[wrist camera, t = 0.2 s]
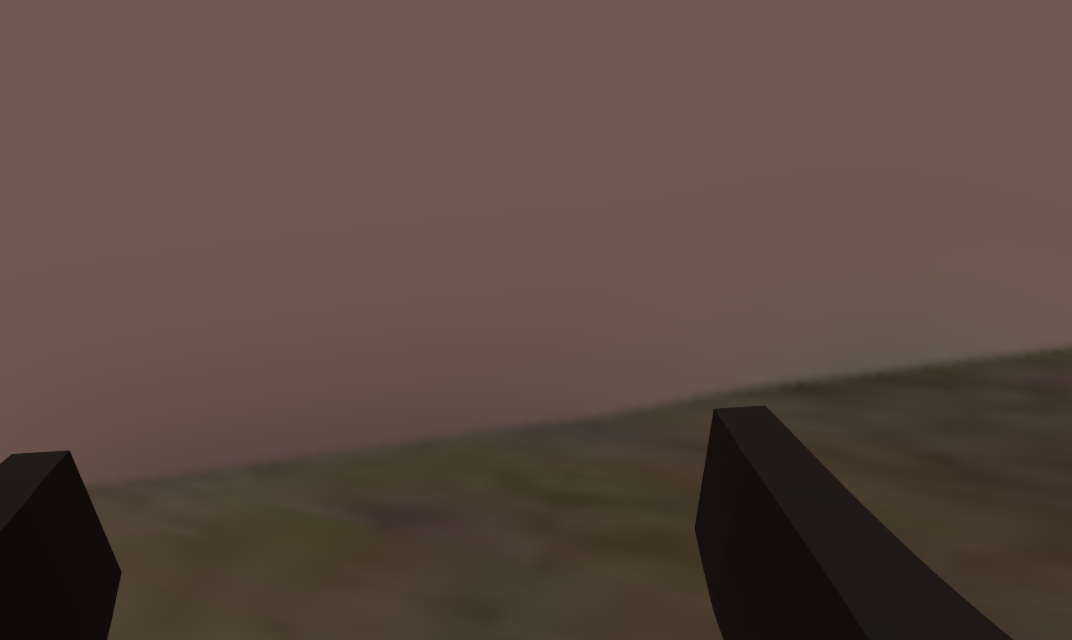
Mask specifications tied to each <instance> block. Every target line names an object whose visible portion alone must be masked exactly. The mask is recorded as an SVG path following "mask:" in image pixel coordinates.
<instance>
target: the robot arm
mask: <svg viewBox="0 0 1072 640" xmlns="http://www.w3.org/2000/svg"><path fill="white" fill-rule="evenodd" d="M695 532H696V537H697V542H698V546H699V551H700V555H701V560H702V565H703V569H704V574H705V578H706V582H707V586H708V590H709V595H710V599H711V603H712V607H713V611H714V614H715V616H716V619H717V622H718V625H719V628H720V631H721V634H722V637H723V640H1013V639H1012V638H1011V637H1009V636H1008V635H1007V634H1006V633H1004V632H1003V631H1002V630H1001V629H999V628H998V627H997V626H996V625H995V624H993V623H992V622H991V621H990V620H989V619H987V618H986V617H985V616H984V615H983V614H981V613H980V612H979V611H978V610H977V609H976V608H975V607H973V606H972V605H971V604H970V603H969V602H968V601H966V600H965V599H964V598H963V597H962V596H961V595H960V594H958V593H957V592H956V591H955V590H954V589H953V588H951V587H950V586H949V585H948V584H947V583H946V582H944V581H943V580H942V579H941V578H940V577H939V576H938V575H937V574H936V573H934V572H933V571H932V570H931V569H930V568H929V567H928V566H927V565H926V564H925V563H923V562H922V561H921V560H920V559H919V558H918V557H917V556H916V555H915V554H914V553H913V552H912V551H911V550H909V549H908V548H907V547H906V546H905V545H904V544H903V543H902V542H901V541H900V540H899V539H898V538H897V537H896V536H895V535H894V534H893V533H892V532H891V531H890V530H888V529H887V528H886V527H885V526H884V525H883V524H882V523H881V522H880V521H879V520H878V519H877V518H876V517H875V516H874V515H873V514H872V513H871V512H870V511H869V510H868V509H867V508H866V507H865V506H864V505H862V504H861V503H860V502H859V501H858V500H857V499H856V498H855V497H854V496H853V495H852V494H851V493H850V492H849V491H848V490H847V489H846V488H845V487H844V486H843V485H842V484H841V483H840V481H839V480H838V479H837V478H836V477H835V476H834V475H833V474H832V473H831V472H830V471H829V470H828V469H827V468H826V467H825V466H824V465H823V464H822V463H821V462H820V461H819V460H818V459H817V458H816V457H815V456H814V455H813V454H812V453H811V452H810V451H809V450H808V449H807V448H806V447H805V446H804V445H803V444H802V443H801V442H800V440H799V439H798V438H797V437H796V436H795V435H794V434H793V433H792V432H791V431H790V430H789V429H788V428H787V427H786V426H785V425H784V424H783V423H782V422H781V421H780V420H779V419H778V418H777V417H776V416H775V415H774V414H773V413H772V412H771V411H770V410H769V409H768V408H767V407H766V406H751V407H736V408H720V409H714V411H713V418H712V424H711V430H710V436H709V443H708V449H707V455H706V461H705V467H704V474H703V480H702V486H701V492H700V499H699V505H698V511H697V517H696V523H695ZM120 577H121V570H120V567H119V565H118V563H117V560H116V558H115V556H114V553H113V551H112V549H111V546H110V544H109V542H108V539H107V537H106V535H105V532H104V530H103V528H102V525H101V523H100V521H99V518H98V516H97V514H96V511H95V509H94V507H93V504H92V502H91V500H90V497H89V495H88V493H87V490H86V488H85V485H84V483H83V481H82V478H81V476H80V474H79V471H78V469H77V467H76V464H75V462H74V460H73V458H72V455H71V453H70V451H54V452H40V453H39V452H38V453H22V454H11V455H10V456H9V457H8V458H7V459H6V460H4V461H3V462H2V463H1V464H0V640H107V637H108V633H109V629H110V625H111V621H112V616H113V611H114V606H115V601H116V596H117V592H118V587H119V582H120Z"/></svg>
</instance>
